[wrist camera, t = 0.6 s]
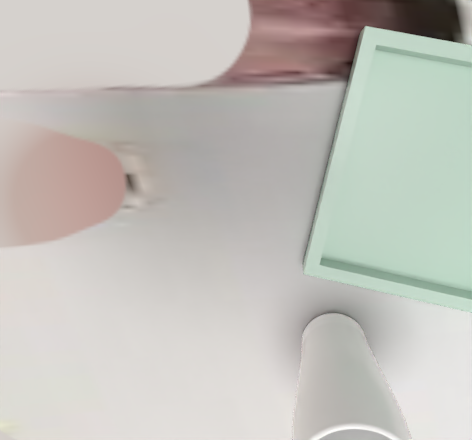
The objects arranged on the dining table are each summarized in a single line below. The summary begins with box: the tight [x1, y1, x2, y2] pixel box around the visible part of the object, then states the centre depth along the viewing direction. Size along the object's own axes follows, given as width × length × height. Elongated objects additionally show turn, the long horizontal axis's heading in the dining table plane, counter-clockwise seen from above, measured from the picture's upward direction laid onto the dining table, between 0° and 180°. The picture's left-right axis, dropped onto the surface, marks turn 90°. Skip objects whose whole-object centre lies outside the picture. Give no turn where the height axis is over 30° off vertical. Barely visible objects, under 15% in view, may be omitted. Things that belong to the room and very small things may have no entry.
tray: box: [303, 26, 472, 313], centre depth 32 cm, size 18×15×2 cm
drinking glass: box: [292, 313, 412, 440], centre depth 30 cm, size 7×7×15 cm
